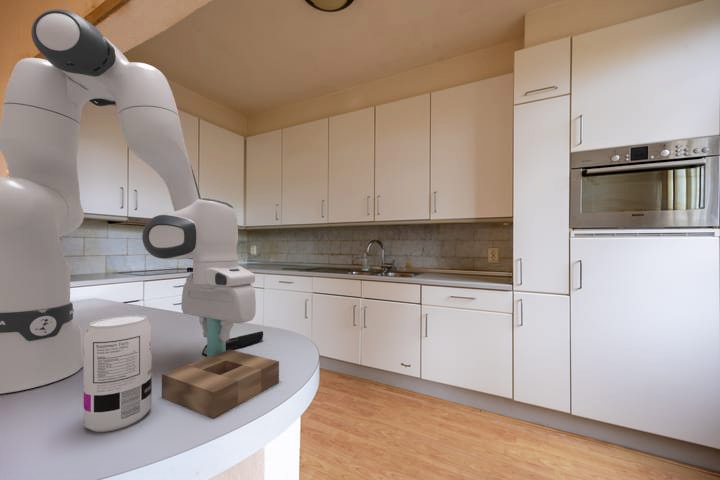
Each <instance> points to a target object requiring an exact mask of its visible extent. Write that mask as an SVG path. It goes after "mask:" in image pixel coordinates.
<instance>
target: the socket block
mask: <svg viewBox="0 0 720 480" xmlns="http://www.w3.org/2000/svg"><path fill="white" fill-rule="evenodd" d="M279 383H280V360H275V359H272V358H266V357H262V356H259V355H256V354H255V355H253V354H250V353H247V352H241V351H238V350H233V349H231V350H227V351H225V352H222V353H219V354H216V355H213V356H211V357H208V358H207V357H204V358H203V359H200V360H197V361H194V362H192V363H189V364H186V365H183V366H180V367H177V368H174V369H172V370H168V371H165V372H164V373H161V398H164V399H165V400H168V401H170V402H173V403H174V404H175V403H176V404H177V405H180V406H182V407H184V408H188V409H189V410H192V411H195V412H197V413H199V414H202V415H204V416H206V417H209V418H211V419H215V418H217V417H219V416H221V415H224V413H227V412H228V411H230V410H231V409H234V408H235V407H237V406H239V405H240V404H243V403H244V402H246V401H248V400H250V399H251V398H254V397H255V396H257V395H259V394H260V393H262V392H264V391H266V390H267V389H270V388H271V387H274V385H277V384H279Z"/></svg>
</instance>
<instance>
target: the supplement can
mask: <svg viewBox="0 0 720 480" xmlns="http://www.w3.org/2000/svg"><path fill="white" fill-rule="evenodd" d="M152 333H153V331H152V324H151V323H150V321H149V319H148V316H146V315H142V314H130V315H119V316H118V315H117V316H112V317H106V318H102V319H96V320H94V321H92V322H90V323H89V326H88V327H87V329H86V331H85V332H84V334H83V356H84V366H83V425H84V427H85V428H86V429H89V430H90V431H91V432H92V431H93V432H95V433H105V432H111V431H116V430H119V429H123V428H126V427H129V426H131V425H133V424H135V423H137V422H138V421H139V420H141V419H143V418H144V417H145V416H146V415H147V414H148V413H149V411H150V410H151V409H152V404H153V403H152V399H153V397H152V395H153V394H152V393H153V391H152V390H153V389H152V388H153V387H152V385H153V384H152V383H153V381H152V378H153V377H152V372H153V371H152V370H153V369H152V368H153V367H152V365H153V364H152V362H153V361H152V358H153V357H152V355H153V354H152V351H153V349H152V344H153V343H152V342H153V341H152V340H153V339H152V338H153V335H152Z"/></svg>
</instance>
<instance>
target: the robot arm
mask: <svg viewBox="0 0 720 480" xmlns="http://www.w3.org/2000/svg"><path fill="white" fill-rule="evenodd" d="M31 39H32V41H33V44H34V46H35V47H36V49H37V50H38V52H39V53H40V54H41V55H42V56H43V58H45V59H43V58H39V57H26V58H22V59H19V60H18V61H17V62H16V63H15V65H14V68H13V70H12V71H11V74H10V76H9V79H8V82H7V85H6V88H5V93H4V98H3V104H2V111H1V119H0V153H1V154H2V155H3V158H4V160H5V163H6V166H7V169H8V174H9V176H0V394H7V393H14V392H20V391H24V390H25V391H26V390H28V389H33V388H37V387H38V388H39V387H41V386H45V385H48V384H51V383H54V382H58V381H60V380H62V379H65V378H67V377H70V376H72V375H74V374H75V373H77V372H79V370H81V368H84V342H83V332H82V331H83V330H82V328H81V327H80V326H78V325H76V324H75V323H73V321H72V320H73V319H74V313H75V310H74V309H75V308H74V306H73V305H74V304H73V302H71V267H70V264H69V262H68V261H67V260H66V257H65V255H64V252H63V246H62V244H61V240H60V237H64V236H66V235H68V234H71V233H73V232H74V231H77V230H78V228H80V227H81V225H82V224H83V222H84V218H85V212H84V209H83V206H82V203H81V195H80V185H79V184H80V183H79V175H78V165H77V163H78V162H77V161H78V148H79V140H80V138H79V137H80V131H81V130H80V129H81V120H82V119H81V118H82V111H83V107H84V106H85V104H86V103H87V102H88V101H89V102H90V103H92V104H93V105H94V106H97V107H105V106H107V107H108V106H115V107H116V111H117V116H118V117H117V118H118V123H119V127H120V128H119V129H120V131H121V134H122V136H123V139H124V141H125V143H126V145H127V147H128V149H129V150H130V151H131V152H132V153H133V154H134V155H135V156H136V157H138V158H139V159H140V160H142V161H143V162H144V163H146V164H147V165H148V166H149V167H150V168H151V169H152V170H154V171H155V172H156V173H157V174H158V176H159V177H161V179H162V181H163V182H164V184H165V185H166V187H167V191H168V193H169V197H170V200H171V204H172V207H173V212H169V213H165V214H160V215H155V216H154V217H152V218H150V219H149V220H148V222H147V223H145V226H144V227H143V230H142V237H141V238H142V244H143V246H144V248H145V250H146V251H147V253H148V254H150V255H151V256H153V257H154V258H157V259H161V260H167V261H168V260H169V261H171V260H186V259H187V260H192V272H191V273H189V275H188V276H187V277H186V279H185V282H184V284H183V286H182V287H183V288H182V293H181V311H182V314H184V315H190V316H195V317H199V323H200V326H201V328H202V336H203V338H206V339H207V318H208V317H210V318H212V319H216V320H221V325H223V327H222V330H221V332H218V340H220V341H227V340H229V339H231V338H230V337H231V334H230V333H231V330H232V328H233V326H234V324H238V325H239V324H240V325H241V324H245V323H249V322H251V321H253V320H254V317H255V316H256V312H257V311H256V309H257V307H256V306H257V305H256V303H257V302H256V301H257V300H256V289H255V287H254V286H253V284H254V283H255V282H256V281H255V280H256V275H255V273H254V272H252V271H250V270H248V269H246V268H244V267H243V266H241V265H239V257H238V254H237V246H238V242H239V229H238V218H237V212H236V209H235V208H234V206H232V205H231V204H229V203H228V202H224V201H220V200H217V199H211V198H201V194H200V191H199V187H198V184H197V180H196V177H195V173H194V170H193V167H192V165H191V161H190V158H189V157H190V156H189V154H188V150H187V147H186V143H185V138H184V133H183V129H182V124H181V119H180V115H179V112H178V111H179V110H178V107H177V103H176V100H175V97H174V94H173V90H172V89H171V87H170V84H169V82H168V79H167V77H166V76H165V74H164V73H162V71H161V70H159V69H158V68H156V67H155V66H153V65H150V64H148V63H144V62H134V61H132V62H131V61H129V59H128V58H126V55H124V53H122V52H121V50H120V49H119V48H118V47H117V46H116V45H114V43H112V42H111V41H110V39H108V38H107V37H105V36H104V35H103V34H102V32H101V31H100V30H99V29H98V28H97V27H96V26H94V25H93V24H92V23H91V22H89V21H88V20H86V19H85V18H83V16H80V15H78V14H77V13H74V12H72V11H70V10H66V9H49V10H47V11H44V12H43V13H41V14H39V16H37V17H36V18H35V19H34V21H33V24H32V25H31Z"/></svg>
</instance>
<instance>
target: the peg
mask: <svg viewBox="0 0 720 480" xmlns="http://www.w3.org/2000/svg"><path fill="white" fill-rule="evenodd" d="M222 327H223V325H221V320H216V319H212V318H210V317H208V318H207V338H206V345H207V357H206V358H208V357H211V356H213V355H216V354H219V353H222V352H225V351H226V341H220V340H218V332H221V330H222Z"/></svg>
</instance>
